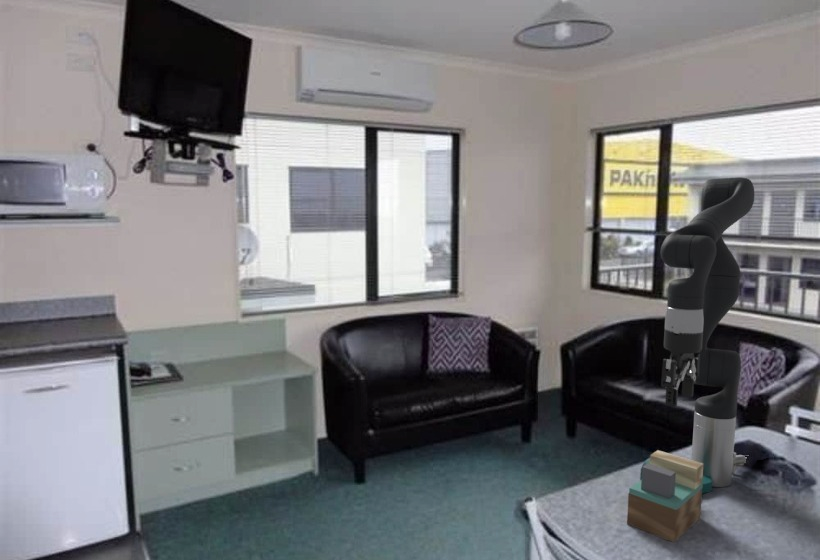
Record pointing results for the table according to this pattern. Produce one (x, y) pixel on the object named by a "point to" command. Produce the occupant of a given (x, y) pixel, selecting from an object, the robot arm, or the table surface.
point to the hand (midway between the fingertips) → (679, 401)
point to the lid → (662, 487)
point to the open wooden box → (663, 516)
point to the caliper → (738, 461)
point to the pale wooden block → (679, 468)
